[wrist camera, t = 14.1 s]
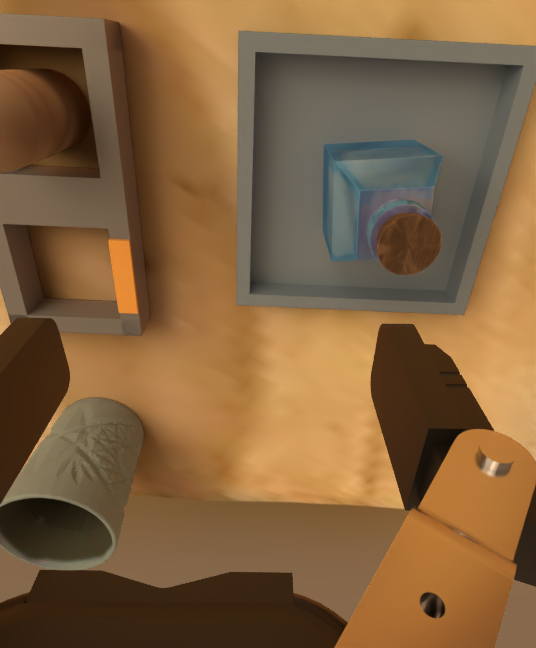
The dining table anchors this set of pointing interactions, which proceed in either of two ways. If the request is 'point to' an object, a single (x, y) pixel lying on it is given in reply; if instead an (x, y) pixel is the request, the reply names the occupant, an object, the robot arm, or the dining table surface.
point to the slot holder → (78, 189)
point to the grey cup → (74, 488)
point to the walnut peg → (38, 116)
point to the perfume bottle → (382, 203)
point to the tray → (369, 126)
